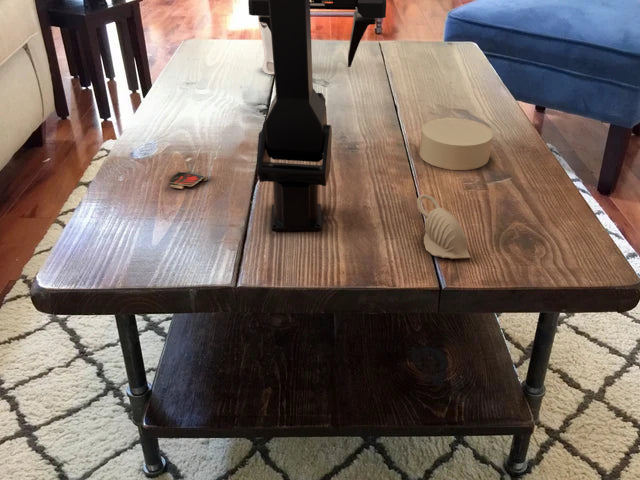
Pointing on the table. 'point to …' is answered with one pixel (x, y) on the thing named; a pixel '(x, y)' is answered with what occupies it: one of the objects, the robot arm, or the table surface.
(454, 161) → the ceramic puck
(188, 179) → the matchbox
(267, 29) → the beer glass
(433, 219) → the decorative ornament
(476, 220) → the table surface
